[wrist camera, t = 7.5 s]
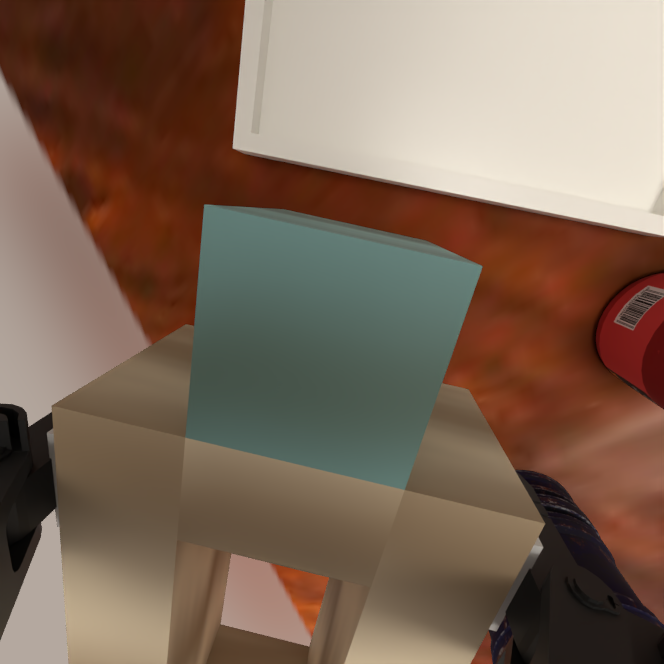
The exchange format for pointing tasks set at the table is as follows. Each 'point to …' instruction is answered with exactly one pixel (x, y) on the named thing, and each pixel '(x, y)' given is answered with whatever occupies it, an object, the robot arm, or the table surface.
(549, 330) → the table surface
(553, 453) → the table surface
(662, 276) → the canned food
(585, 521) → the dark blue cylinder
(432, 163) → the tray
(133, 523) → the beige hollow block
